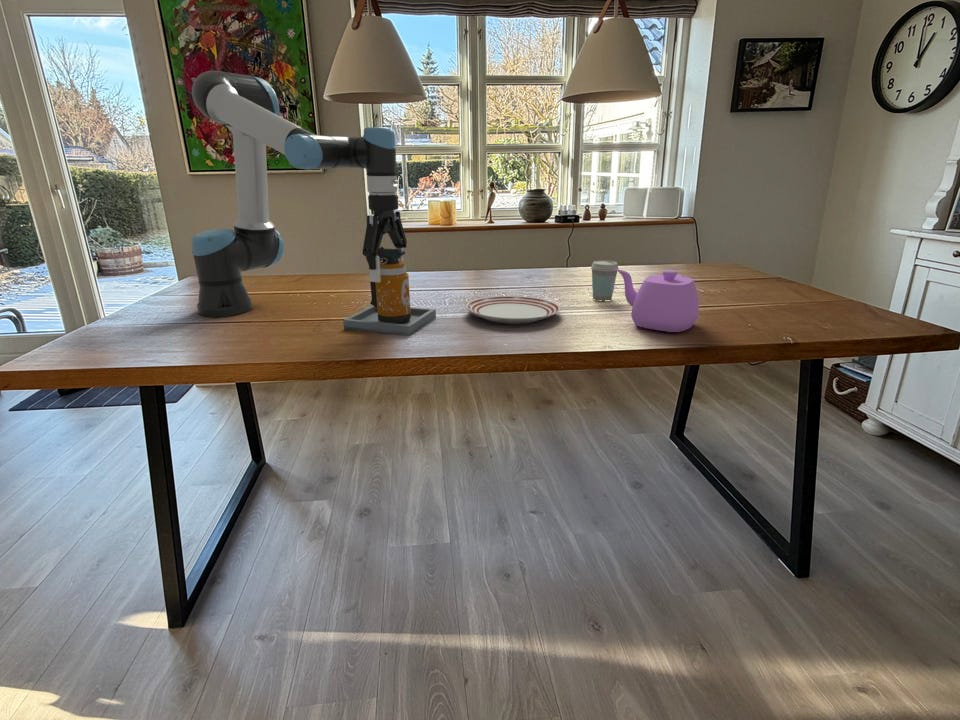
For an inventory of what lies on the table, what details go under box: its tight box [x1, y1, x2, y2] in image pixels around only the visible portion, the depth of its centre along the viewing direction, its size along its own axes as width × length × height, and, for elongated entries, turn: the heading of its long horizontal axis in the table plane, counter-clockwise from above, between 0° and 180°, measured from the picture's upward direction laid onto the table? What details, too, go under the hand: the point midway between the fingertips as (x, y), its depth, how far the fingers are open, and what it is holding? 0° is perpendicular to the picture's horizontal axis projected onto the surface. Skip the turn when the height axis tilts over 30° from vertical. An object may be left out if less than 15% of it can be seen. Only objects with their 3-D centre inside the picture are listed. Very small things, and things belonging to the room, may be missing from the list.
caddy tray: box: [342, 305, 437, 336], centre depth 144 cm, size 19×17×2 cm
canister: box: [365, 246, 411, 324], centre depth 141 cm, size 9×11×20 cm
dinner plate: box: [465, 295, 561, 325], centre depth 151 cm, size 27×27×3 cm
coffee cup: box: [590, 260, 620, 301], centre depth 166 cm, size 8×9×12 cm
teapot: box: [616, 268, 700, 333], centre depth 142 cm, size 23×21×15 cm
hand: (387, 276), depth 140 cm, fingers open, 13 cm apart
